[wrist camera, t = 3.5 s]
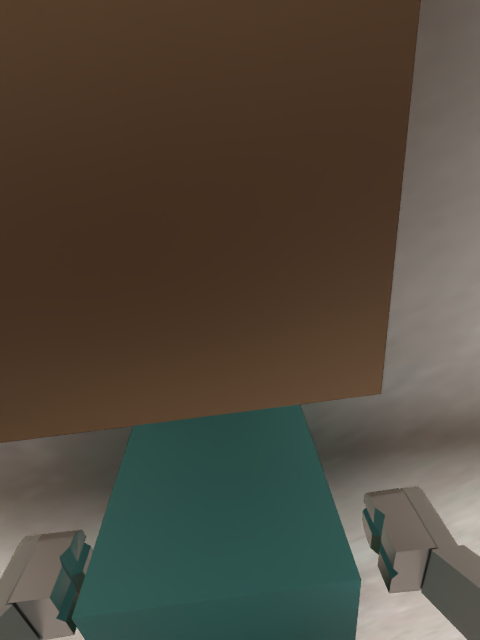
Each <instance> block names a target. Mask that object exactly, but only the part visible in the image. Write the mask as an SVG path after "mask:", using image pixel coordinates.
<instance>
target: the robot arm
mask: <svg viewBox="0 0 480 640" xmlns="http://www.w3.org/2000/svg"><path fill="white" fill-rule="evenodd" d="M364 503H365V505H366V508H365V509H364V511H363V517H362V520H363V526H364V531H365V534H366V537H367V540H368V542H369V545H370V548H371V549H373V550H374V551H375V552H376V553H377V554H378V555H379V558H378V567H379V570H380V572H381V575H382V577H383V580H384V582H385V584H386V587H387V589H388V592H389V593H398V592H409V591H419V590H422V593H423V594H424V596H425V597H426V598H427V599H428V600H429V601H430V602H431V603H432V604H433V605H434V606H435V607H436V608H437V609H438V610H439V611H440V612H441V613H442V614H443V615H444V616H445V617H446V618H447V619H448V620H449V621H450V622H451V623H452V624H453V625H454V626H455V627H456V628H457V629H458V630H459V631H460V632H461V633H462V634H463V635H464V637H465V638H466V639H467V640H480V557H479V556H478V555H477V554H475V553H474V552H473V551H471V550H470V549H468V548H467V547H466V546H464V545H461V546H458V544H457V543H456V541H455V540H454V538H453V537H452V535H451V534H450V532H449V530H448V529H447V527H446V526H445V524H444V523H443V521H442V520H441V518H440V516H439V515H438V513H437V512H436V510H435V509H434V507H433V506H432V504H431V503H430V501H429V499H428V498H427V496H426V495H425V493H424V492H423V490H422V489H421V488H419V487H417V486H414V487H407V488H400V489H399V488H396V489H389V490H383V491H376V492H369V493H366V494H365V495H364ZM85 539H86V535H85V534H84V532H83V530H74V531H66V532H58V533H49V534H39V535H31V536H26V537H25V538H24V539H23V540H22V541H21V542H20V543H19V545H18V547H17V549H16V550H15V552H14V554H13V556H12V558H11V560H10V562H9V564H8V566H7V567H6V569H5V571H4V573H3V575H2V577H1V579H0V640H47V639H53V638H59V637H65V636H71V635H74V634H75V630H76V627H77V626H76V625H75V623H74V622H73V620H72V615H73V612H74V609H75V606H76V603H77V600H78V597H79V594H80V590H81V587H82V584H83V581H84V578H85V575H86V572H87V569H88V565H89V562H90V559H91V556H92V553H93V549H92V547H91V546H90V545H88V544H86V543H84V542H85Z"/></svg>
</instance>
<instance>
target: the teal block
mask: <svg viewBox="0 0 480 640" xmlns="http://www.w3.org/2000/svg"><path fill="white" fill-rule="evenodd" d="M360 587H361V578H360V575H359V572H358V569H357V566H356V564H355V561H354V558H353V555H352V552H351V549H350V546H349V543H348V541H347V538H346V535H345V532H344V529H343V526H342V523H341V521H340V518H339V515H338V512H337V509H336V506H335V503H334V500H333V498H332V495H331V492H330V489H329V486H328V483H327V480H326V478H325V475H324V472H323V469H322V466H321V463H320V460H319V457H318V455H317V452H316V449H315V446H314V443H313V440H312V437H311V435H310V432H309V429H308V426H307V423H306V420H305V417H304V414H303V412H302V409H301V406H300V404H299V405H291V406H283V407H276V408H268V409H260V410H252V411H244V412H237V413H229V414H221V415H213V416H206V417H198V418H190V419H182V420H174V421H167V422H159V423H151V424H143V425H136V426H133V428H132V431H131V434H130V438H129V441H128V444H127V447H126V450H125V453H124V456H123V459H122V462H121V466H120V469H119V472H118V475H117V478H116V481H115V484H114V487H113V491H112V494H111V497H110V500H109V503H108V506H107V509H106V512H105V516H104V519H103V522H102V525H101V528H100V531H99V534H98V537H97V541H96V544H95V547H94V550H93V553H92V556H91V559H90V562H89V565H88V569H87V572H86V575H85V578H84V581H83V584H82V587H81V590H80V594H79V597H78V600H77V603H76V606H75V609H74V612H73V615H72V620H73V622H74V623H75V625H76V626H77V628H78V629H79V631H80V633H81V634H82V636H83V637H84V639H85V640H355V636H356V626H357V616H358V606H359V596H360Z"/></svg>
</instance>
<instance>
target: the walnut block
mask: <svg viewBox="0 0 480 640" xmlns="http://www.w3.org/2000/svg"><path fill="white" fill-rule="evenodd" d="M420 2H421V0H0V443H3V442H11V441H19V440H27V439H35V438H42V437H50V436H58V435H66V434H73V433H81V432H89V431H97V430H105V429H112V428H120V427H128V426H136V425H143V424H151V423H159V422H167V421H174V420H182V419H190V418H198V417H206V416H213V415H221V414H229V413H237V412H244V411H252V410H260V409H268V408H276V407H283V406H291V405H299V404H307V403H314V402H322V401H330V400H338V399H346V398H353V397H361V396H369V395H377V394H381V390H382V380H383V370H384V360H385V350H386V340H387V330H388V320H389V310H390V300H391V290H392V280H393V270H394V260H395V250H396V240H397V231H398V221H399V211H400V201H401V191H402V181H403V171H404V161H405V151H406V141H407V131H408V121H409V111H410V101H411V91H412V81H413V71H414V61H415V51H416V42H417V32H418V22H419V12H420Z"/></svg>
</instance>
